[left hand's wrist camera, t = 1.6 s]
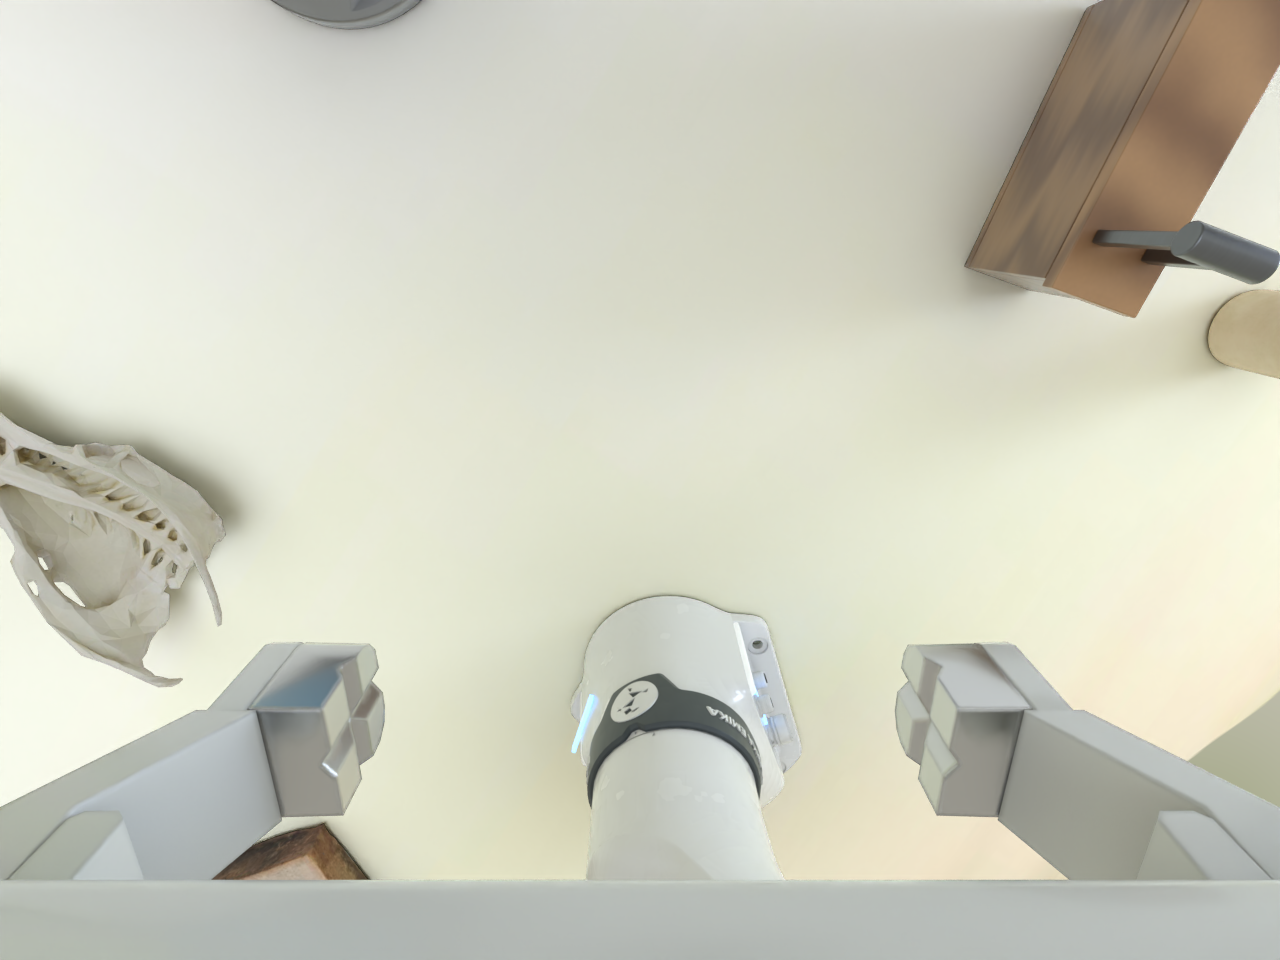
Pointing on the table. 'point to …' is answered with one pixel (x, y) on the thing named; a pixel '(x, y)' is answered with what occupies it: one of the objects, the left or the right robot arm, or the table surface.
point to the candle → (1248, 333)
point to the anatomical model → (102, 541)
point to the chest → (1072, 138)
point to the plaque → (294, 859)
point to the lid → (1175, 163)
